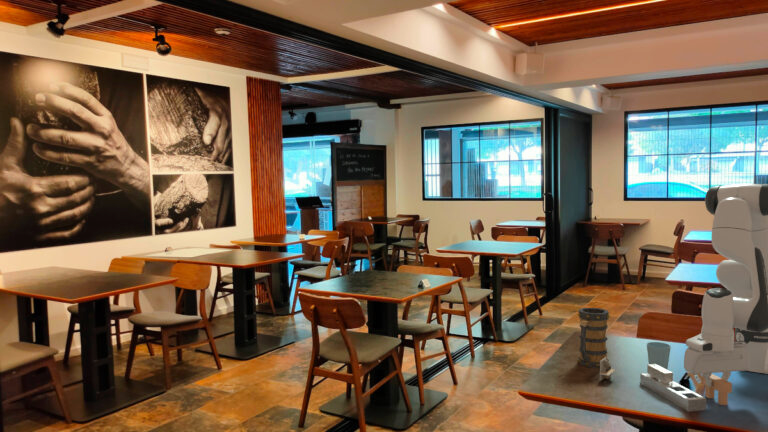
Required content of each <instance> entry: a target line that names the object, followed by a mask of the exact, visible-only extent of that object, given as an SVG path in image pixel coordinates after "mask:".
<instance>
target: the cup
mask: <svg viewBox="0 0 768 432" xmlns="http://www.w3.org/2000/svg"><path fill="white" fill-rule="evenodd" d="M671 348H672V346H671V345H670V344H669V343H666V342H660V341H649V342H647V343H646V350H647V360H648V364H657V365H659V366H661V367H663V368H665V369H667V370H669V369H668V367H669V361H670V354H671Z"/></svg>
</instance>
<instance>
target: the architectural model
mask: <svg viewBox="0 0 768 432" xmlns="http://www.w3.org/2000/svg"><path fill="white" fill-rule="evenodd" d="M615 371H616V369H613V368H612V364H611V363H609V361H607V360H606V357H605V358H604V359H602V360H601V361H600V368H599V382H602V381H603V380H604V379H605V380H609V379H611V378H612V374H613V373H614V372H615Z"/></svg>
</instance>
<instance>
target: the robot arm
mask: <svg viewBox="0 0 768 432" xmlns="http://www.w3.org/2000/svg"><path fill="white" fill-rule="evenodd" d="M704 204H705V209H706V210H707V212H708V213H710V214H711V215H713V221H712V225H711V227H712V228H711V246H712V248H713V250H714V251H715V252H716V253H718V254H719V255H720V256H722V257H724V258H726V259H724V260H722V261H721V262H719V264H718V265H717V268H716V271H715V275H716V279H717V281H718V283H719V284H720V285H721V286H723V287H724V288H721V287H715V288H709V289H706V290H705V292H704V294H703V298H702V302H701V307H700V308H701V310H700V313H701V320H702V326H701V329H700V331H701V332H700V333H699V334H697V335H695V336H693V337H690V338H687V339H686V341H685V346H686V347H687V348H686V349H685V351H684V356H683V357H684V358H683V368H684V371H686V372H687V373H689V374H691V375H702V374H703V376H704V378H705V379H706V385H707V386H709V387H712V386H714V381H712V380H711V378H710V376H711V374H714V373H715V374H716V373H722V375H721V377H720V378H722V379H724V380H726V381H728V380H729V378H730V377H731V375H732V372H743V371H746V372H752V373H761V374H766V375H768V183H763V184H761V183H739V184H728V185H715V186H712V187H710V188H709V189H708V190H707V192H706V194H705V199H704ZM734 328H735V330H734Z"/></svg>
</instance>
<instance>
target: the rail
mask: <svg viewBox="0 0 768 432" xmlns="http://www.w3.org/2000/svg"><path fill="white" fill-rule="evenodd" d="M646 366H647V370H646V371H647V372H643V373H640V374H639V375H640V379H639V380H640V382H639V383H640V385H642V386H644V387H646V388H647V389H649V390H650V391H652V392H653V393H656V395H659V396H660V397H662V398H664V399H665V400H666V401H667V400H668V401H669V402H671V403H672V402H673V403H672V404H675V405H676V406H677V407H679V408H681V409H683V410H685V411H686V412H688V413H689V412H700V411H702V412H703V411H707V399H708V398H707V397H704V396H702V395H700V394H699V393H697V392H695V391H694V390H690V389H689V388H687V387H685V386H683V385H681V383H678V382H676V381H673V380H674V377H673V376H674V372H673V371H670V370H669V369H665V368H663V367H661V366H659V365H657V364H649V363H648V364H647V365H646Z"/></svg>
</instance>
